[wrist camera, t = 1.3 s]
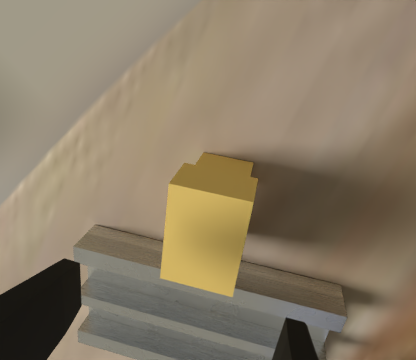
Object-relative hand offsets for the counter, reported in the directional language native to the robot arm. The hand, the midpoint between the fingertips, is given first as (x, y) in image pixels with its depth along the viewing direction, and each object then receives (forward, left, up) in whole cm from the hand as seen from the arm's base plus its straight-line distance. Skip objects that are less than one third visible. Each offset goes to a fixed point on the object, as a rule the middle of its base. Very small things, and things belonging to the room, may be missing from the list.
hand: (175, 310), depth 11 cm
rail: (0, +9, -9) cm, 12 cm away
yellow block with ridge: (0, 0, -9) cm, 9 cm away
